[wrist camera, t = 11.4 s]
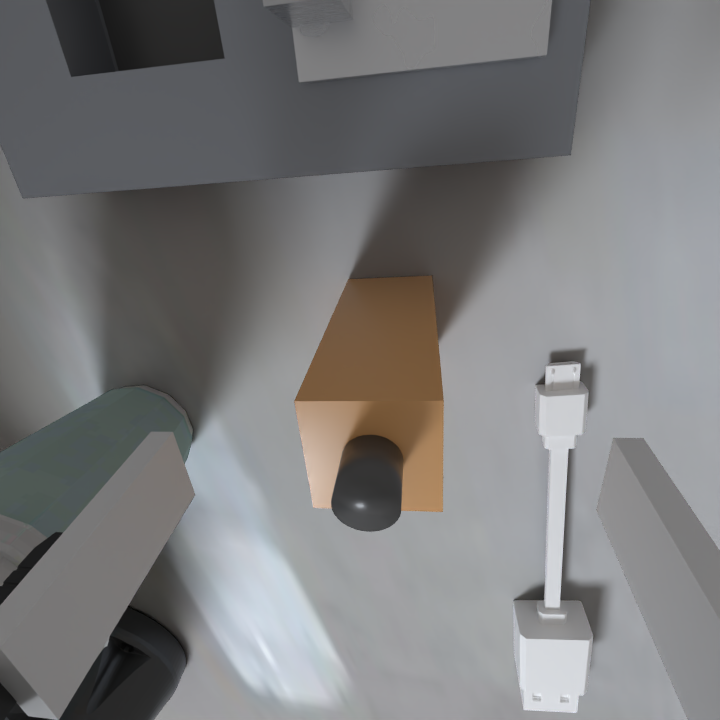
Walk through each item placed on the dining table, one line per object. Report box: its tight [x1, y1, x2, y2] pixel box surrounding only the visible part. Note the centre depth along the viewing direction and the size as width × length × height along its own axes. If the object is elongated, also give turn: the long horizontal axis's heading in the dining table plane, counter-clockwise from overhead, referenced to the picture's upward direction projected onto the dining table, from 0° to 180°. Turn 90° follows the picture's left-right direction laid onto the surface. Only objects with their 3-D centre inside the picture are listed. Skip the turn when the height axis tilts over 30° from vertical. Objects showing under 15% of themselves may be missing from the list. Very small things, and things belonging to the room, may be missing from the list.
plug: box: [294, 276, 444, 531], centre depth 19 cm, size 4×4×14 cm
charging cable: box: [513, 361, 593, 713], centre depth 31 cm, size 5×32×3 cm, turn 9°
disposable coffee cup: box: [0, 385, 193, 657], centre depth 24 cm, size 11×11×15 cm
